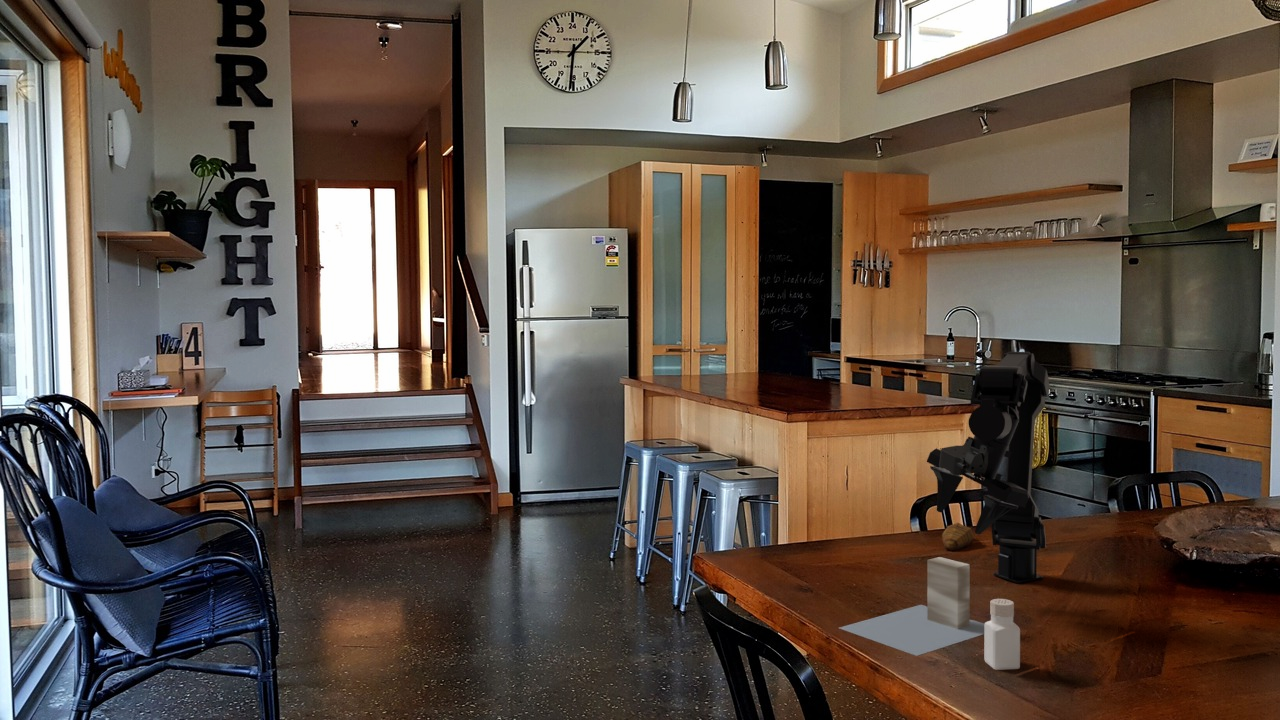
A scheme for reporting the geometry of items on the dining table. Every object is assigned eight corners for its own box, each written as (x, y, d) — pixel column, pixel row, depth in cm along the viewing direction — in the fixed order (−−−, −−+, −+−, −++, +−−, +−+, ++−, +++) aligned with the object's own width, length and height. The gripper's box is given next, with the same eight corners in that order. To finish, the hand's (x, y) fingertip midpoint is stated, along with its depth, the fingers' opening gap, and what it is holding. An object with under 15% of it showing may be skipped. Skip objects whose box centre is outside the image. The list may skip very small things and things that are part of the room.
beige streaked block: (939, 616, 169) (939, 556, 168) (969, 625, 164) (969, 564, 163) (927, 619, 167) (927, 559, 166) (957, 629, 162) (957, 567, 161)
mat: (920, 606, 175) (920, 604, 175) (1000, 630, 162) (1000, 628, 162) (838, 629, 164) (838, 627, 164) (916, 657, 150) (916, 655, 150)
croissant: (965, 554, 210) (966, 530, 209) (933, 550, 213) (933, 527, 213) (982, 540, 221) (982, 518, 221) (950, 537, 225) (950, 514, 224)
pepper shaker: (982, 662, 148) (982, 598, 148) (1009, 660, 149) (1009, 597, 148) (994, 672, 144) (994, 606, 144) (1021, 670, 145) (1021, 605, 144)
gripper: (922, 411, 177) (889, 493, 179) (1002, 449, 161) (965, 538, 163) (965, 424, 182) (932, 504, 184) (1046, 462, 166) (1010, 548, 168)
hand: (957, 522), depth 175 cm, fingers open, 9 cm apart
